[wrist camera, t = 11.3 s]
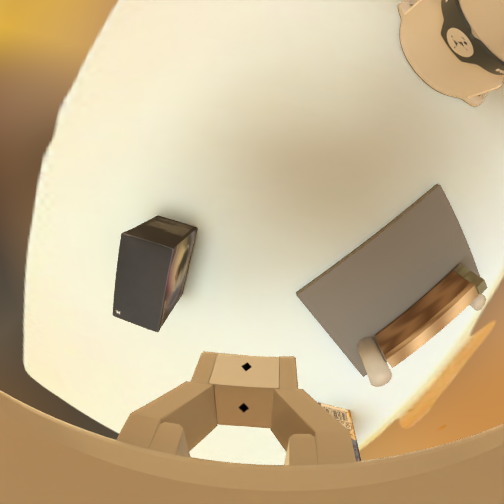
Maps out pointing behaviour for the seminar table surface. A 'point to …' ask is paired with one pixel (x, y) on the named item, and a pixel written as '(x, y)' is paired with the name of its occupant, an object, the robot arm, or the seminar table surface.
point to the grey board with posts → (388, 280)
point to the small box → (152, 271)
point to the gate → (430, 314)
